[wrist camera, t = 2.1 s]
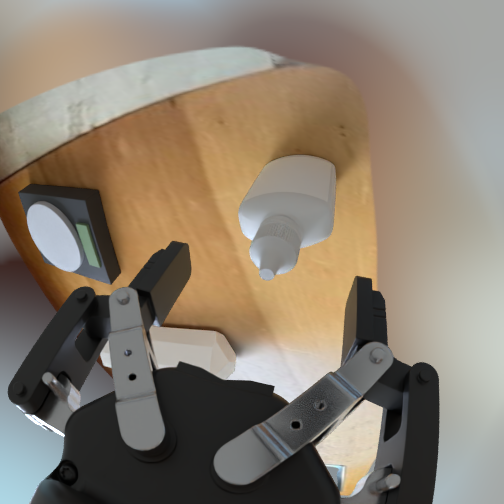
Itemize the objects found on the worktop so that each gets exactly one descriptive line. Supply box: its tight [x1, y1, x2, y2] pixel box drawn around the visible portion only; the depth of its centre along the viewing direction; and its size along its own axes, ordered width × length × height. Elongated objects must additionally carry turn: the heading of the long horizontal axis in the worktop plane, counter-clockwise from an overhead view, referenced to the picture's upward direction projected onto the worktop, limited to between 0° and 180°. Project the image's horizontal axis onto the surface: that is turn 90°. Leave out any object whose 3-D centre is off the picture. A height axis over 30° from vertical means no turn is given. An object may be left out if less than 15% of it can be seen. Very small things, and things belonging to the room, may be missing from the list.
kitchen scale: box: [18, 184, 121, 285], centre depth 33 cm, size 12×14×3 cm
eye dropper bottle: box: [238, 155, 336, 280], centre depth 18 cm, size 4×6×12 cm
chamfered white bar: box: [100, 326, 236, 380], centre depth 41 cm, size 7×7×24 cm
